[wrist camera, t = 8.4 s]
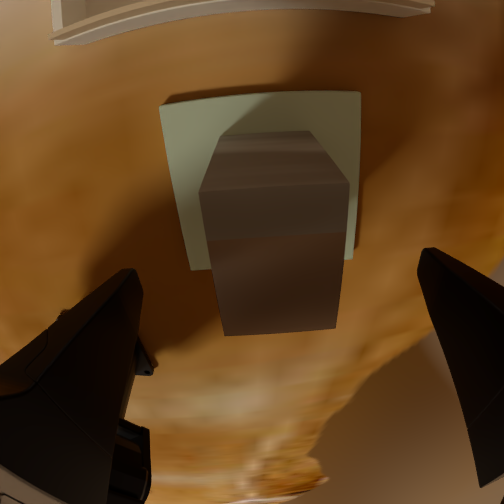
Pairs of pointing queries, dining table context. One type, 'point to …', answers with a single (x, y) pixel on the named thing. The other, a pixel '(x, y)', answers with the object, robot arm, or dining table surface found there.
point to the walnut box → (275, 232)
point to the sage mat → (247, 122)
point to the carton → (190, 13)
